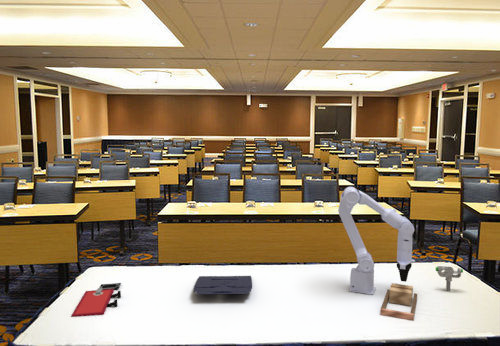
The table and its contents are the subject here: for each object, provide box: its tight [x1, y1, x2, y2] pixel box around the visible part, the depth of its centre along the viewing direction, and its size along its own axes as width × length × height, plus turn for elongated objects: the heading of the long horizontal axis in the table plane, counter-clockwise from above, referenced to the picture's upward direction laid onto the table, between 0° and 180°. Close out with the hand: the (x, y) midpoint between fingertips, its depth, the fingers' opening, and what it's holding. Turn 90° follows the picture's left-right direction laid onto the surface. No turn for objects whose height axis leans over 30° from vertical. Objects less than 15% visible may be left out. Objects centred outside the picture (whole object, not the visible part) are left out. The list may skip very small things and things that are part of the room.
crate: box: [388, 282, 414, 307], centre depth 166 cm, size 8×8×6 cm
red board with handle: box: [71, 282, 122, 318], centre depth 169 cm, size 30×3×15 cm
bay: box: [379, 288, 418, 321], centre depth 162 cm, size 11×21×2 cm, turn 155°
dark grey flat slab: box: [193, 275, 253, 295], centre depth 179 cm, size 24×30×4 cm
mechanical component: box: [435, 265, 464, 292], centre depth 176 cm, size 3×10×10 cm, turn 79°
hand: (403, 280), depth 174 cm, fingers closed
